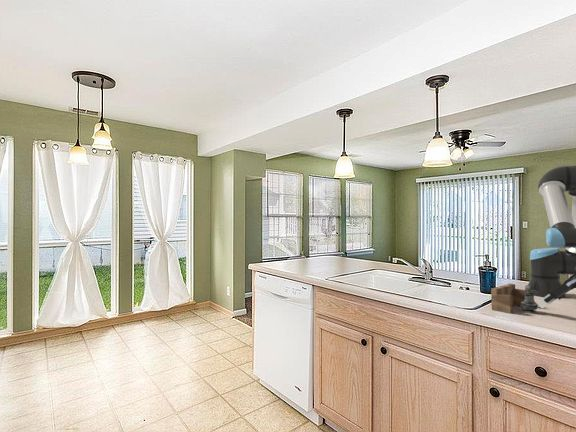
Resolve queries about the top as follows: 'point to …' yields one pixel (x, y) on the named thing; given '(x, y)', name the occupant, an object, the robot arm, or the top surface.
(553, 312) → the top surface
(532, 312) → the grey chess piece
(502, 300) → the brown wooden u-shaped block
